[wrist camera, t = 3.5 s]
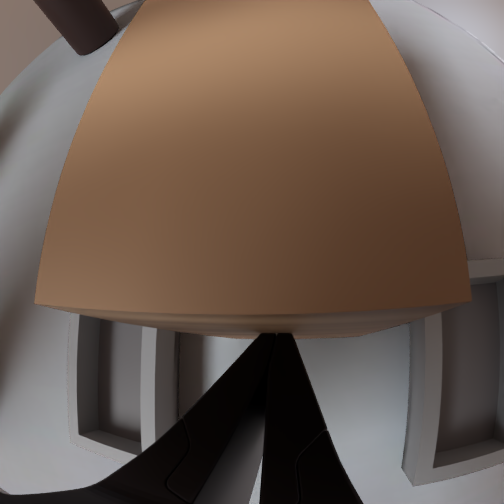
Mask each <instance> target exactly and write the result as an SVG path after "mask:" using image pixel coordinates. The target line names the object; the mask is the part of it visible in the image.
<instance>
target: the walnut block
mask: <svg viewBox="0 0 504 504" xmlns="http://www.w3.org/2000/svg"><path fill="white" fill-rule="evenodd" d="M471 301H472V296H471V287H470V278H469V270H468V263H467V256H466V250H465V244H464V239H463V233H462V228H461V223H460V219H459V214H458V210H457V206H456V201H455V197H454V193H453V190H452V186H451V182H450V179H449V175H448V172H447V168H446V165H445V162H444V158H443V155H442V152H441V149H440V146H439V143H438V140H437V138H436V135H435V132H434V129H433V127H432V124H431V121H430V119H429V116H428V114H427V111H426V109H425V106H424V104H423V101H422V99H421V97H420V94H419V92H418V90H417V88H416V85H415V83H414V81H413V79H412V77H411V75H410V73H409V71H408V68H407V66H406V64H405V62H404V60H403V59H402V57H401V55H400V53H399V51H398V49H397V47H396V45H395V43H394V42H393V40H392V38H391V36H390V35H389V33H388V31H387V29H386V28H385V26H384V24H383V23H382V21H381V19H380V18H379V16H378V14H377V13H376V11H375V10H374V8H373V7H372V5H371V4H370V2H369V1H368V0H145V1H144V3H143V4H142V6H141V7H140V9H139V10H138V12H137V13H136V15H135V16H134V18H133V20H132V21H131V23H130V24H129V26H128V28H127V29H126V31H125V32H124V34H123V36H122V38H121V39H120V41H119V43H118V44H117V46H116V48H115V50H114V52H113V53H112V55H111V57H110V59H109V61H108V63H107V64H106V66H105V68H104V70H103V72H102V74H101V76H100V78H99V80H98V82H97V84H96V86H95V89H94V91H93V93H92V95H91V97H90V99H89V102H88V104H87V106H86V109H85V111H84V113H83V116H82V118H81V120H80V123H79V125H78V128H77V130H76V133H75V136H74V138H73V141H72V144H71V146H70V149H69V152H68V155H67V158H66V161H65V164H64V167H63V170H62V173H61V176H60V180H59V183H58V186H57V190H56V193H55V197H54V201H53V204H52V208H51V212H50V216H49V220H48V225H47V229H46V233H45V238H44V243H43V248H42V253H41V259H40V265H39V271H38V278H37V285H36V292H35V301H34V304H38V305H42V306H46V307H50V308H54V309H58V310H63V311H67V312H71V313H76V314H81V315H85V316H90V317H95V318H100V319H105V320H110V321H116V322H121V323H127V324H132V325H138V326H144V327H150V328H157V329H163V330H170V331H177V332H184V333H192V334H200V335H208V336H217V337H226V338H235V339H256V338H257V337H258V336H259V334H261V333H276V335H277V334H278V333H292V334H293V336H294V339H311V338H339V337H358V336H362V335H366V334H370V333H373V332H377V331H381V330H384V329H388V328H392V327H395V326H398V325H402V324H405V323H409V322H412V321H415V320H418V319H422V318H425V317H428V316H431V315H434V314H437V313H440V312H443V311H446V310H449V309H452V308H455V307H457V306H460V305H463V304H466V303H468V302H471Z"/></svg>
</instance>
